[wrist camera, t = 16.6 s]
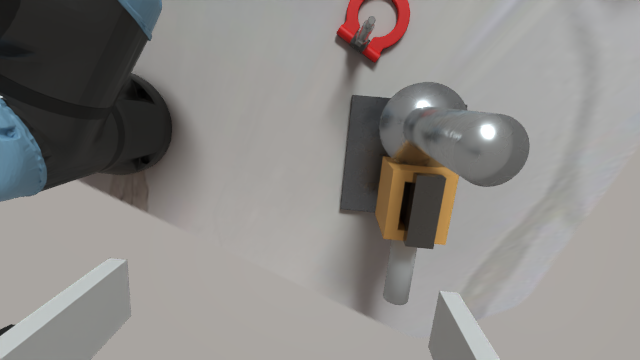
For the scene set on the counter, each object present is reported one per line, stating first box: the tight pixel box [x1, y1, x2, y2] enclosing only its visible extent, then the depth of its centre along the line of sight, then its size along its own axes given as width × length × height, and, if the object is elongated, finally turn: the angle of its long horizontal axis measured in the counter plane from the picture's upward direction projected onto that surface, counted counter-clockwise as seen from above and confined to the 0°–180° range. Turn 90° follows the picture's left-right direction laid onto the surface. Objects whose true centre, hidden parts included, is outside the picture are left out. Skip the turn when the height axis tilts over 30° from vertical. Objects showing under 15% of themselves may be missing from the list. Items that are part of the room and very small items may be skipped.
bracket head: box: [375, 156, 459, 305], centre depth 41 cm, size 7×18×8 cm, turn 175°
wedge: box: [400, 172, 446, 249], centre depth 41 cm, size 3×8×14 cm, turn 175°
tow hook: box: [337, 0, 410, 63], centre depth 38 cm, size 8×13×9 cm
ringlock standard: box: [341, 82, 529, 212], centre depth 36 cm, size 16×19×27 cm
